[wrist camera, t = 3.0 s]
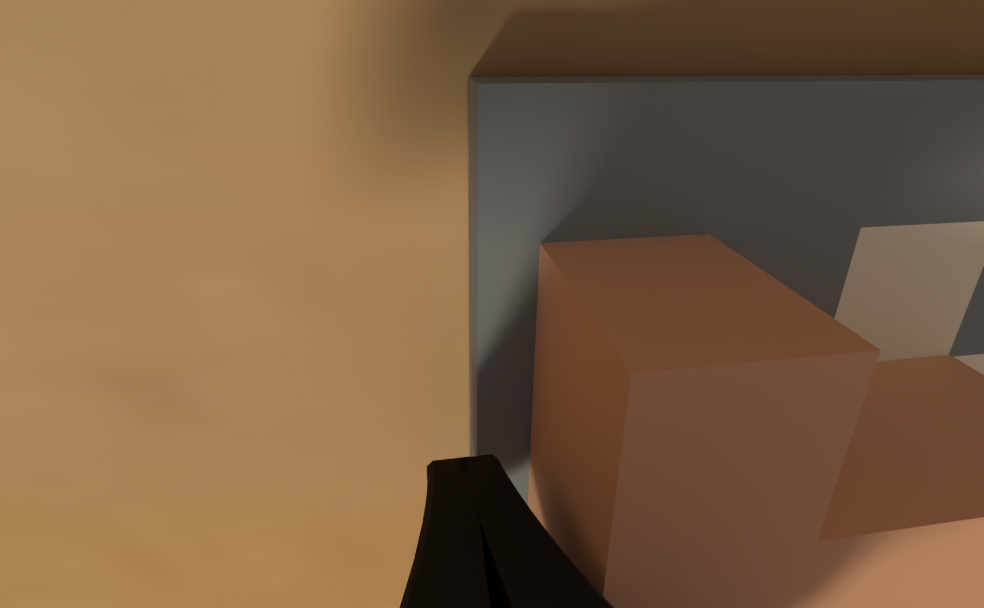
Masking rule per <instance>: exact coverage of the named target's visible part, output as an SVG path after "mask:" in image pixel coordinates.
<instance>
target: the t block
mask: <svg viewBox="0 0 984 608" xmlns="http://www.w3.org/2000/svg"><path fill="white" fill-rule="evenodd" d="M880 352H881V350H880V349H878V348H877V347H875V346H874V345H872V344H871V343H870V342H868V341H867V340H865V339H864V338H862V337H861V336H859V335H858V334H856V333H855V332H853V331H852V330H850V329H849V328H847V327H846V326H844V325H843V324H841V323H840V322H839V321H837V320H836V319H834V318H833V317H831V316H830V315H828V314H827V313H825V312H824V311H822V310H821V309H819V308H818V307H816V306H815V305H813V304H812V303H810V302H809V301H808V300H806V299H805V298H803V297H802V296H800V295H799V294H797V293H796V292H794V291H793V290H791V289H790V288H788V287H787V286H785V285H784V284H782V283H781V282H779V281H778V280H777V279H775V278H774V277H772V276H771V275H769V274H768V273H766V272H765V271H763V270H762V269H760V268H759V267H757V266H756V265H754V264H753V263H751V262H750V261H748V260H747V259H746V258H744V257H743V256H741V255H740V254H738V253H737V252H735V251H734V250H732V249H731V248H729V247H728V246H726V245H725V244H723V243H722V242H720V241H719V240H717V239H716V238H715V237H713V236H712V235H710V234H698V235H679V236H661V237H642V238H624V239H605V240H587V241H568V242H550V243H540V250H539V272H538V294H537V315H536V337H535V359H534V380H533V402H532V424H531V445H530V467H529V489H528V506H529V508H530V509H531V511H532V512H533V513H534V515H535V516H536V517H537V519H538V520H539V521H540V523H541V524H542V525H543V526H544V528H545V529H546V530H547V532H548V533H549V534H550V535H551V537H552V538H553V539H554V540H555V542H556V543H557V544H558V546H559V547H560V548H561V549H562V550H563V552H564V553H565V554H566V555H567V556H568V558H569V559H570V560H571V561H572V562H573V564H574V565H575V566H576V567H577V568H578V569H579V570H580V571H581V573H582V574H583V575H584V576H585V577H586V578H587V579H588V580H589V582H590V583H591V584H592V585H593V586H594V587H595V588H596V589H597V590H598V591H599V592H600V594H601V595H602V596H603V597H604V598H605V599H606V600H607V601H608V602H609V603H610V604H611V605H612V606H613V607H614V608H984V375H983V374H981V373H979V372H978V371H976V370H974V369H973V368H971V367H969V366H968V365H966V364H964V363H963V362H961V361H959V360H958V359H956V358H954V357H953V356H951V355H949V356H939V357H928V358H917V359H907V360H896V361H886V362H877V361H878V358H879V355H880Z"/></svg>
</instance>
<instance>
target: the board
mask: <svg viewBox="0 0 984 608" xmlns="http://www.w3.org/2000/svg"><path fill="white" fill-rule="evenodd" d="M468 128H469V356H470V457H472V456H481V455H490V454H493V455H494V456H495V457H496V458H498V460H499V461H500V463H501V465H502V467H503V469H504V470H505V472H506V473H507V475H508V477H509V478H510V480H511V481H512V483H513V485H514V486H515V488H516V489H517V491H518V492H519V494H520V495H521V496H522V498H523V499H524V501H525V502H526V504H527V505H528V489H529V467H530V445H531V424H532V402H533V380H534V359H535V337H536V315H537V294H538V272H539V250H540V243H550V242H568V241H587V240H605V239H624V238H642V237H661V236H679V235H698V234H710V235H712V236H713V237H715V238H716V239H717V240H719V241H720V242H722V243H723V244H725V245H726V246H728V247H729V248H731V249H732V250H734V251H735V252H737V253H738V254H740V255H741V256H743V257H744V258H746V259H747V260H748V261H750V262H751V263H753V264H754V265H756V266H757V267H759V268H760V269H762V270H763V271H765V272H766V273H768V274H769V275H771V276H772V277H774V278H775V279H777V280H778V281H779V282H781V283H782V284H784V285H785V286H787V287H788V288H790V289H791V290H793V291H794V292H796V293H797V294H799V295H800V296H802V297H803V298H805V299H806V300H808V301H809V302H810V303H812V304H813V305H815V306H816V307H818V308H819V309H821V310H822V311H824V312H825V313H827V314H828V315H830V316H831V317H833V318H834V319H836V320H837V321H839V322H840V323H841V324H843V325H844V326H846V327H847V328H849V329H850V330H852V331H853V332H855V333H856V334H858V335H859V336H861V337H862V338H864V339H865V340H867V341H868V342H870V343H871V344H872V345H874V346H875V347H877V348H878V349H880V350H881V352H880V355H879V358H878V361H877V362H886V361H896V360H907V359H917V358H928V357H939V356H949V355H951V356H953V357H954V358H956V359H958V360H959V361H961V362H963V363H964V364H966V365H968V366H969V367H971V368H973V369H974V370H976V371H978V372H979V373H981V374H983V375H984V74H882V75H680V76H479V77H468Z"/></svg>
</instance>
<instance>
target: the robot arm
mask: <svg viewBox="0 0 984 608" xmlns="http://www.w3.org/2000/svg"><path fill="white" fill-rule="evenodd" d="M427 481H428V484H427V497H426V505H425V511H424V517H423V523H422V527H421V532H420V536H419V541H418V545H417V549H416V554H415V558H414V562H413V565H412V569H411V572H410V575H409V579H408V582H407V585H406V589H405V592H404V595H403V598H402V602H401V605H400V608H614V607H613V606H612V605H611V604H610V603H609V602H608V601H607V600H606V599H605V598H604V597H603V596H602V595H601V594H600V592H599V591H598V590H597V589H596V588H595V587H594V586H593V585H592V584H591V583H590V582H589V580H588V579H587V578H586V577H585V576H584V575H583V574H582V573H581V571H580V570H579V569H578V568H577V567H576V566H575V565H574V564H573V562H572V561H571V560H570V559H569V558H568V556H567V555H566V554H565V553H564V552H563V550H562V549H561V548H560V547H559V546H558V544H557V543H556V542H555V540H554V539H553V538H552V537H551V535H550V534H549V533H548V532H547V530H546V529H545V528H544V526H543V525H542V524H541V523H540V521H539V520H538V519H537V517H536V516H535V515H534V513H533V512H532V511H531V509H530V508H529V506H528V505H527V504H526V502H525V501H524V499H523V498H522V496H521V495H520V494H519V492H518V491H517V489H516V488H515V486H514V485H513V483H512V481H511V480H510V478H509V477H508V475H507V473H506V472H505V470H504V469H503V467H502V465H501V463H500V461H499V460H498V458H496V457H495V456H494V455H493V454H490V455H481V456H472V457H463V458H454V459H445V460H436V461H432V462H431V463H430V464H429V465H428V466H427Z"/></svg>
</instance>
